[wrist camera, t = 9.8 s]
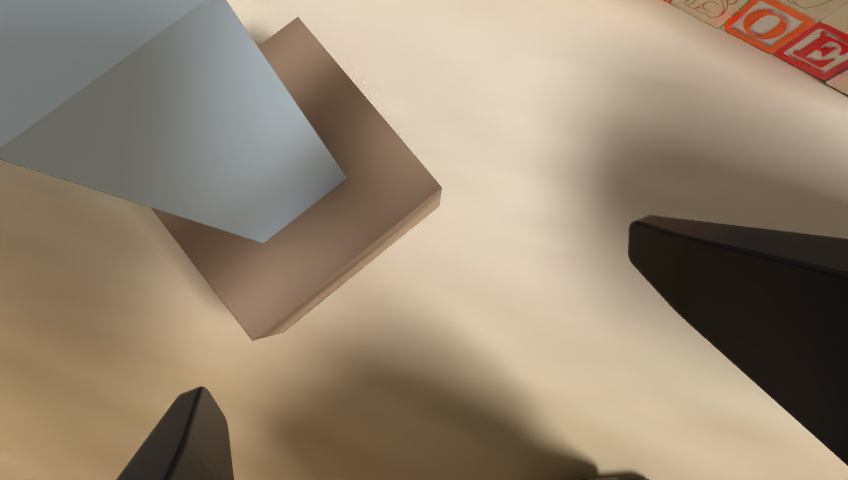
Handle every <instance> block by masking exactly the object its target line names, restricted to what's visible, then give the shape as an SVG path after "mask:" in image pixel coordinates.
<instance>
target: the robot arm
mask: <svg viewBox="0 0 848 480" xmlns="http://www.w3.org/2000/svg"><path fill="white" fill-rule="evenodd" d="M628 255H629V259H630V261H631V263H632V264H633V265H634V266H635V268H636V269H637V270H638V271H639V272H640V273H641V274H642V275H643V276H644V277H645V278H646V280H647V281H648V282H649V283H650V284H651V285H652V286H653V287H654V288H655V289H656V290H657V292H658V293H659V294H660V295H661V296H662V297H663V298H664V299H665V300H666V301H667V302H668V303H669V305H670V306H671V307H672V308H673V309H674V310H675V311H676V312H677V313H678V314H679V315H680V316H681V317H682V318H683V319H684V320H686V321H687V322H688V323H689V324H690V325H691V326H692V327H693V328H694V329H695V330H697V331H698V332H699V333H700V334H701V335H702V336H703V337H704V338H706V339H707V340H708V341H709V342H710V343H711V344H712V345H713V346H714V347H716V348H717V349H718V350H719V351H720V352H721V353H722V354H723V355H725V356H726V357H727V358H728V359H729V360H730V361H731V362H732V363H733V364H735V365H736V366H737V367H738V368H739V369H740V370H741V371H742V372H744V373H745V374H746V375H747V376H748V377H749V378H750V379H751V380H752V381H754V382H755V383H756V384H757V385H758V386H759V387H760V388H761V389H763V390H764V391H765V392H766V393H767V394H768V395H769V396H770V397H771V398H773V399H774V400H775V401H776V402H777V403H778V404H779V405H780V406H782V407H783V408H784V409H785V410H786V411H787V412H788V413H789V414H790V415H792V416H793V417H794V418H795V419H796V420H797V421H798V422H799V423H801V424H802V425H803V426H804V427H805V428H806V429H807V430H808V431H809V432H811V433H812V434H813V435H814V436H815V437H816V438H817V439H818V440H820V441H821V442H822V443H823V444H824V445H825V446H826V447H827V448H828V449H830V450H831V451H832V452H833V453H834V454H835V455H836V456H837V457H839V458H840V459H841V460H842V461H843V462H844V463H845V464H846V465H847V466H848V239H844V238H835V237H827V236H819V235H810V234H802V233H794V232H785V231H777V230H769V229H761V228H752V227H744V226H736V225H727V224H719V223H711V222H702V221H694V220H686V219H678V218H669V217H661V216H653V215H648V216H644V217H642V218H639V219H636V220H634V221H632V222H631V224H630V226H629V239H628ZM116 480H234V476H233V467H232V458H231V449H230V440H229V431H228V425H227V421H226V418H225V416H224V414H223V413H222V411H221V409H220V408H219V406H218V405H217V403H216V402H215V400H214V398H213V397H212V395H211V394H210V392H209V391H208V390H207V389H206V388H205V387H198V388H195V389H193V390H190V391H187V392H185V393H182V394H180V395H179V396H178V397H177V398H176V400H175V401H174V402H173V404H172V405H171V406H170V408H169V409H168V410H167V412H166V413H165V415H164V416H163V417H162V419H161V420H160V421H159V423H158V424H157V425H156V427H155V428H154V429H153V431H152V432H151V433H150V435H149V436H148V438H147V439H146V440H145V442H144V443H143V444H142V446H141V447H140V448H139V450H138V451H137V452H136V454H135V455H134V456H133V458H132V459H131V460H130V462H129V463H128V465H127V466H126V467H125V469H124V470H123V471H122V473H121V474H120V475H119V477H118V478H117V479H116ZM584 480H619V479H618V478H617V477H605V478H594V479H584ZM637 480H649V479H637Z"/></svg>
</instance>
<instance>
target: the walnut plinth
mask: <svg viewBox="0 0 848 480" xmlns="http://www.w3.org/2000/svg"><path fill="white" fill-rule="evenodd" d="M258 48H259V49H260V51H261V52H262V54H263V55H264V57H265V58H266V60H267V61H268V63H269V64H270V66H271V67H272V69H273V70H274V71H275V73H276V74H277V76H278V77H279V79H280V80H281V82H282V83H283V85H284V86H285V88H286V89H287V91H288V92H289V94H290V95H291V97H292V98H293V99H294V101H295V102H296V104H297V105H298V107H299V108H300V110H301V111H302V113H303V114H304V116H305V117H306V119H307V120H308V122H309V123H310V124H311V126H312V127H313V129H314V130H315V132H316V133H317V135H318V136H319V138H320V139H321V141H322V142H323V144H324V145H325V147H326V148H327V149H328V151H329V152H330V154H331V155H332V157H333V158H334V160H335V161H336V163H337V164H338V166H339V167H340V169H341V170H342V172H343V173H344V175H345V176H346V177H347V179H345V180H344V181H343V182H342V183H340V184H339V185H338V186H336V187H335V188H334V189H333V190H331V191H330V192H329V193H327V194H326V195H325V196H324V197H322V198H321V199H320V200H318V201H317V202H316V203H315V204H313V205H312V206H311V207H309V208H308V209H307V210H306V211H304V212H303V213H302V214H300V215H299V216H298V217H297V218H295V219H294V220H293V221H291V222H290V223H289V224H288V225H286V226H285V227H284V228H282V229H281V230H280V231H279V232H277V233H276V234H275V235H273V236H272V237H271V238H270V239H268V240H267V241H266V242H264V243H261V242H258V241H255V240H252V239H249V238H246V237H243V236H239V235H236V234H233V233H230V232H227V231H224V230H221V229H217V228H214V227H211V226H208V225H205V224H202V223H199V222H195V221H192V220H189V219H186V218H183V217H180V216H177V215H173V214H170V213H167V212H164V211H161V210H158V209H155V208H152V209H153V211H154V212H155V213H156V215H157V216H158V217H159V218H160V220H161V221H162V222H163V224H164V225H165V226H166V228H167V229H168V230H169V232H170V233H171V234H172V236H173V237H174V238H175V240H176V241H177V242H178V244H179V245H180V246H181V248H182V249H183V250H184V251H185V253H186V254H187V255H188V257H189V258H190V259H191V261H192V262H193V263H194V265H195V266H196V267H197V269H198V270H199V271H200V273H201V274H202V275H203V277H204V278H205V279H206V280H207V282H208V283H209V284H210V286H211V287H212V288H213V290H214V291H215V292H216V294H217V295H218V296H219V298H220V299H221V300H222V302H223V303H224V304H225V306H226V307H227V308H228V309H229V311H230V312H231V313H232V315H233V316H234V317H235V319H236V320H237V321H238V323H239V324H240V325H241V327H242V328H243V329H244V331H245V332H246V333H247V335H248V336H249V337H250V338H251V340H252V341H253V340H257V339H260V338H264V337H268V336H272V335H276V334H279V333H283V332H284V331H285V330H287V329H288V328H289V327H290V326H292V325H293V324H294V323H295V322H297V321H298V320H299V319H300V318H302V317H303V316H304V315H305V314H306V313H308V312H309V311H310V310H311V309H313V308H314V307H315V306H316V305H318V304H319V303H320V302H321V301H323V300H324V299H325V298H326V297H327V296H329V295H330V294H331V293H332V292H334V291H335V290H336V289H337V288H339V287H340V286H341V285H342V284H343V283H345V282H346V281H347V280H348V279H350V278H351V277H352V276H353V275H355V274H356V273H357V272H358V271H360V270H361V269H362V268H363V267H364V266H366V265H367V264H368V263H369V262H371V261H372V260H373V259H374V258H376V257H377V256H378V255H379V254H380V253H382V252H383V251H384V250H385V249H387V248H388V247H389V246H390V245H392V244H393V243H394V242H395V241H397V240H398V239H399V238H400V237H401V236H403V235H404V234H405V233H406V232H408V231H409V230H410V229H411V228H413V227H414V226H415V225H416V224H418V223H419V222H420V221H421V220H422V219H424V218H425V217H426V216H427V215H429V214H430V213H431V212H432V211H434V210H435V209H436V208H437V207H438V206H439V204H440V197H441V190H442V187H441V186H440V185H439V184H438V182H437V181H436V180H435V179H434V178H433V176H432V175H431V174H430V173H429V172H428V171H427V169H426V168H425V167H424V166H423V165H422V163H421V162H420V161H419V160H418V159H417V157H416V156H415V155H414V154H413V153H412V152H411V150H410V149H409V148H408V147H407V146H406V144H405V143H404V142H403V141H402V140H401V139H400V137H399V136H398V135H397V134H396V133H395V131H394V130H393V129H392V128H391V127H390V125H389V124H388V123H387V122H386V121H385V120H384V118H383V117H382V116H381V115H380V114H379V112H378V111H377V110H376V109H375V108H374V106H373V105H372V104H371V103H370V102H369V101H368V99H367V98H366V97H365V96H364V95H363V93H362V92H361V91H360V90H359V89H358V88H357V86H356V85H355V84H354V83H353V82H352V80H351V79H350V78H349V77H348V76H347V74H346V73H345V72H344V71H343V70H342V69H341V67H340V66H339V65H338V64H337V63H336V61H335V60H334V59H333V58H332V57H331V56H330V54H329V53H328V52H327V51H326V50H325V48H324V47H323V46H322V45H321V44H320V42H319V41H318V40H317V39H316V38H315V37H314V35H313V34H312V33H311V32H310V31H309V29H308V28H307V27H306V26H305V25H304V24H303V22H302V21H301V20H300V19H299V18H298V17H297V18H296V19H294V20H293V21H292V22H290V23H289V24H288V25H286V26H285V27H284V28H282V29H281V30H280V31H278V32H277V33H276V34H274V35H273V36H272V37H270V38H269V39H268V40H266V41H265V42H264V43H262V44H261V45H260V46H258Z"/></svg>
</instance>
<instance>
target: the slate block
mask: <svg viewBox="0 0 848 480" xmlns="http://www.w3.org/2000/svg"><path fill="white" fill-rule="evenodd" d="M0 159H1V160H4V161H7V162H10V163H13V164H16V165H19V166H23V167H26V168H29V169H32V170H35V171H38V172H41V173H45V174H48V175H51V176H54V177H57V178H60V179H63V180H67V181H70V182H73V183H76V184H79V185H82V186H85V187H89V188H92V189H95V190H98V191H101V192H104V193H107V194H111V195H114V196H117V197H120V198H123V199H126V200H129V201H133V202H136V203H139V204H142V205H145V206H148V207H151V208H155V209H158V210H161V211H164V212H167V213H170V214H173V215H177V216H180V217H183V218H186V219H189V220H192V221H195V222H199V223H202V224H205V225H208V226H211V227H214V228H217V229H221V230H224V231H227V232H230V233H233V234H236V235H239V236H243V237H246V238H249V239H252V240H255V241H258V242H261V243H264V242H266V241H267V240H268V239H270V238H271V237H272V236H273V235H275V234H276V233H277V232H279V231H280V230H281V229H282V228H284V227H285V226H286V225H288V224H289V223H290V222H291V221H293V220H294V219H295V218H297V217H298V216H299V215H300V214H302V213H303V212H304V211H306V210H307V209H308V208H309V207H311V206H312V205H313V204H315V203H316V202H317V201H318V200H320V199H321V198H322V197H324V196H325V195H326V194H327V193H329V192H330V191H331V190H333V189H334V188H335V187H336V186H338V185H339V184H340V183H342V182H343V181H344V180H345V179H347V177H346V176H345V175H344V173H343V172H342V170H341V169H340V167H339V166H338V164H337V163H336V161H335V160H334V158H333V157H332V155H331V154H330V152H329V151H328V149H327V148H326V147H325V145H324V144H323V142H322V141H321V139H320V138H319V136H318V135H317V133H316V132H315V130H314V129H313V127H312V126H311V124H310V123H309V122H308V120H307V119H306V117H305V116H304V114H303V113H302V111H301V110H300V108H299V107H298V105H297V104H296V102H295V101H294V99H293V98H292V97H291V95H290V94H289V92H288V91H287V89H286V88H285V86H284V85H283V83H282V82H281V80H280V79H279V77H278V76H277V74H276V73H275V71H274V70H273V69H272V67H271V66H270V64H269V63H268V61H267V60H266V58H265V57H264V55H263V54H262V52H261V51H260V49H259V48H258V46H257V45H256V44H255V42H254V41H253V39H252V38H251V36H250V35H249V33H248V32H247V30H246V29H245V27H244V26H243V24H242V23H241V21H240V20H239V19H238V17H237V16H236V14H235V13H234V11H233V10H232V8H231V7H230V5H229V4H228V2H227V1H226V0H0Z"/></svg>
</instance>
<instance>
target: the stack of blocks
mask: <svg viewBox="0 0 848 480" xmlns="http://www.w3.org/2000/svg"><path fill="white" fill-rule="evenodd" d="M664 1H666V2H669V3H671V4H672V5H673V6H675V7H677V8H679V9H680V10H682V11H684V12H686V13H688V14H690V15H692V16H694V17H695V18H697V19H699V20H701V21H703V22H705V23H707V24H709V25H711V26H713V27H715V28H722V29H724V30H725V31H727V32H728V33H730V34H733V35H735V36H737V37H739V38H741V39H743V40H744V41H746V42H748V43H750V44H752V45H754V46H756V47H758V48H760V49H762V50H764V51H766V52H768V53H771V54H774V55H775V56H777V57H779V58H781V59H783V60H785V61H786V62H788V63H790V64H792V65H794V66H796V67H798V68H799V69H802V70H804V71H806V72H807V73H809V74H811V75H813V76H815V77H817V78H819V79H823V80H825V81H826V84H827V85H829V86H831V87H833V88H835V89H837V90H839V91H841V92H843V93H845V94H847V95H848V0H664Z"/></svg>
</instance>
